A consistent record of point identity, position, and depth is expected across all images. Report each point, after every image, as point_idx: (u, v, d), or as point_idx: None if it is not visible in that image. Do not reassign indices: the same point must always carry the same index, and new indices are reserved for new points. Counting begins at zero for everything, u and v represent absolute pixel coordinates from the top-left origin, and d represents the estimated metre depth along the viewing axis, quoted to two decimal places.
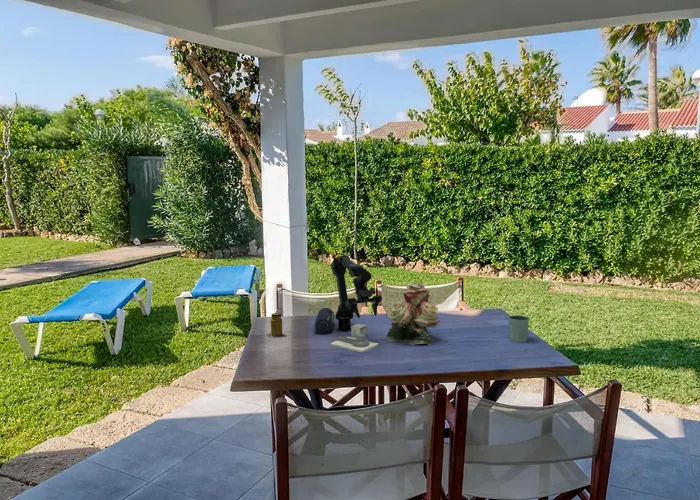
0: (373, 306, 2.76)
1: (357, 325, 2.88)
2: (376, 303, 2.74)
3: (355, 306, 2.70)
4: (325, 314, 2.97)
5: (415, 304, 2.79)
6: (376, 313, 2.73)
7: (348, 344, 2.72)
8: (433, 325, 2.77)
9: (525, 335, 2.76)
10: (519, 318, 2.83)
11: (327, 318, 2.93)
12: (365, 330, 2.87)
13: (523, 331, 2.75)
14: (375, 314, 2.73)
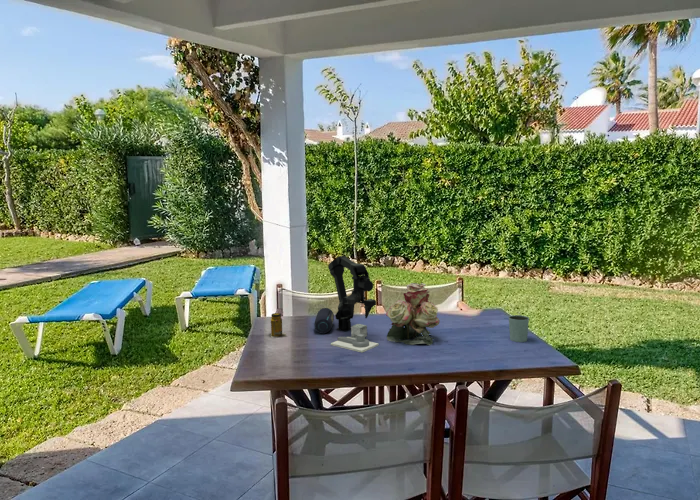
0: None
1: (357, 325, 2.88)
2: (365, 308, 2.81)
3: (348, 306, 2.88)
4: (324, 314, 2.97)
5: (415, 303, 2.79)
6: (366, 316, 2.83)
7: (348, 344, 2.72)
8: (433, 325, 2.77)
9: (525, 335, 2.76)
10: (519, 318, 2.83)
11: (326, 318, 2.93)
12: (365, 330, 2.87)
13: (523, 331, 2.75)
14: None
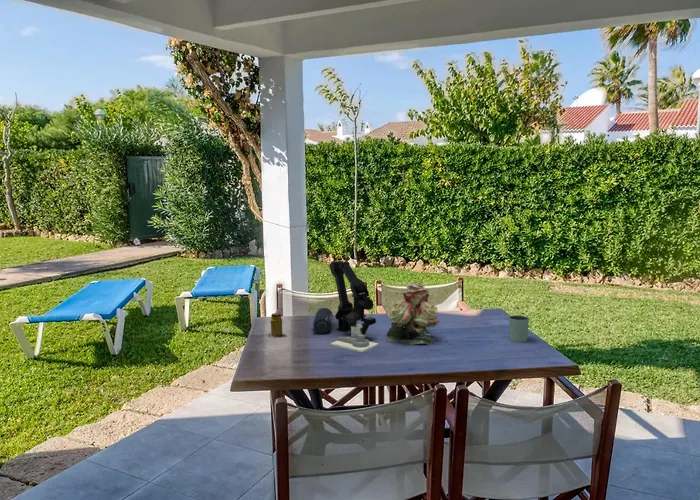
0: None
1: (357, 325, 2.88)
2: (363, 326, 2.83)
3: (350, 323, 2.89)
4: (323, 314, 2.97)
5: (414, 303, 2.80)
6: (363, 334, 2.85)
7: (348, 344, 2.72)
8: (433, 325, 2.77)
9: (525, 335, 2.76)
10: (519, 318, 2.83)
11: (325, 318, 2.93)
12: None
13: (523, 331, 2.75)
14: (363, 334, 2.86)
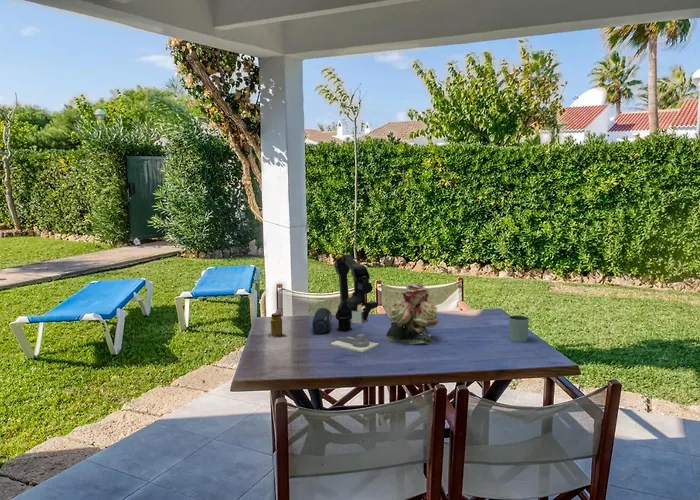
0: None
1: (358, 310, 2.79)
2: (364, 310, 2.74)
3: (350, 308, 2.80)
4: (322, 314, 2.97)
5: (414, 303, 2.80)
6: (364, 318, 2.76)
7: (348, 344, 2.72)
8: (432, 324, 2.78)
9: (525, 335, 2.76)
10: (519, 318, 2.83)
11: (324, 318, 2.93)
12: None
13: (523, 331, 2.75)
14: (364, 319, 2.77)
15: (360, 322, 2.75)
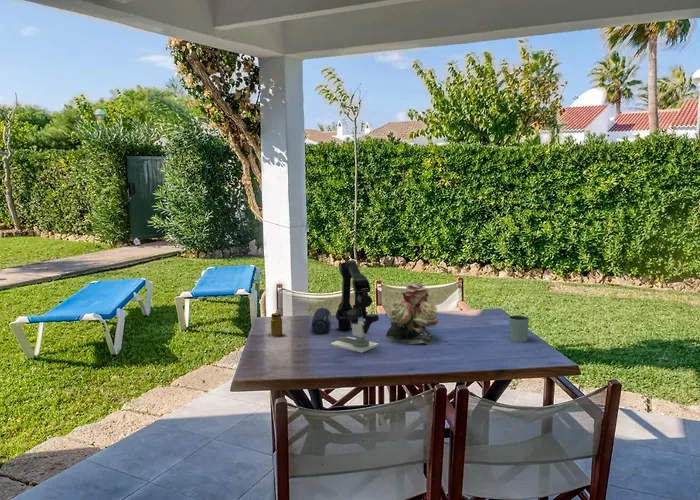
0: None
1: (358, 322, 2.71)
2: (365, 323, 2.65)
3: (351, 321, 2.71)
4: (322, 314, 2.97)
5: (414, 303, 2.80)
6: (365, 332, 2.68)
7: (348, 344, 2.72)
8: (432, 324, 2.78)
9: (525, 335, 2.76)
10: (519, 318, 2.83)
11: (324, 318, 2.93)
12: None
13: (523, 331, 2.75)
14: None
15: (360, 335, 2.67)
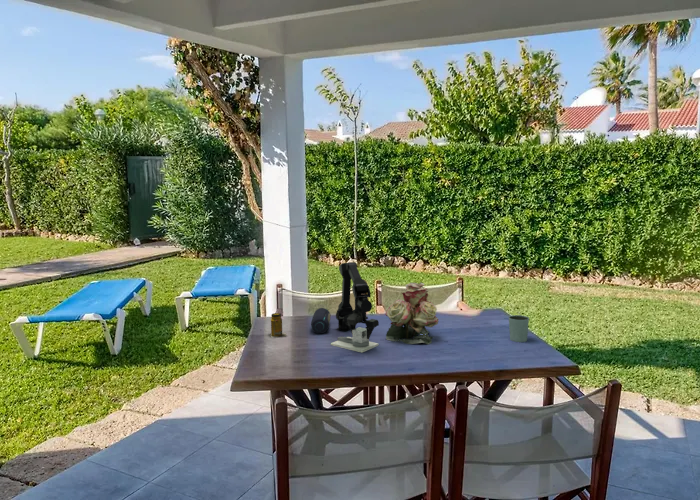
0: None
1: (358, 329, 2.71)
2: (367, 329, 2.65)
3: (349, 325, 2.72)
4: (321, 314, 2.97)
5: (414, 303, 2.80)
6: (367, 337, 2.67)
7: (348, 344, 2.72)
8: (432, 324, 2.78)
9: (525, 335, 2.76)
10: (519, 318, 2.83)
11: (323, 318, 2.93)
12: None
13: (523, 331, 2.75)
14: (367, 338, 2.68)
15: (360, 342, 2.67)
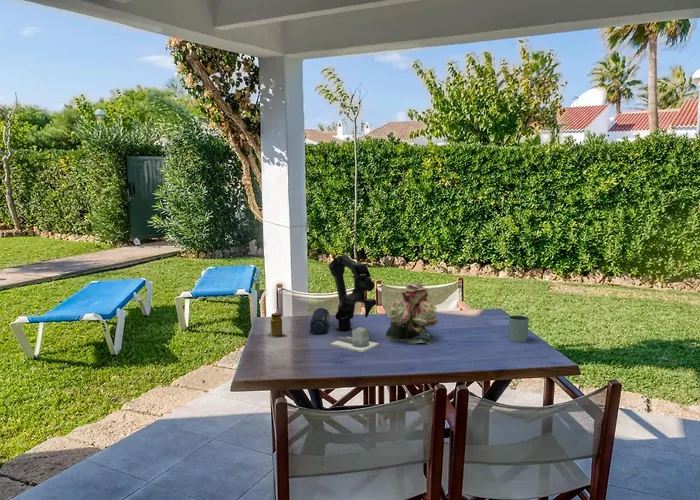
0: None
1: (358, 329, 2.71)
2: (365, 307, 2.80)
3: (348, 304, 2.88)
4: (320, 314, 2.97)
5: (413, 303, 2.81)
6: (366, 316, 2.83)
7: (348, 344, 2.72)
8: (432, 324, 2.79)
9: (525, 335, 2.76)
10: (519, 318, 2.83)
11: (322, 318, 2.93)
12: (367, 334, 2.70)
13: (523, 331, 2.75)
14: None
15: (360, 342, 2.67)
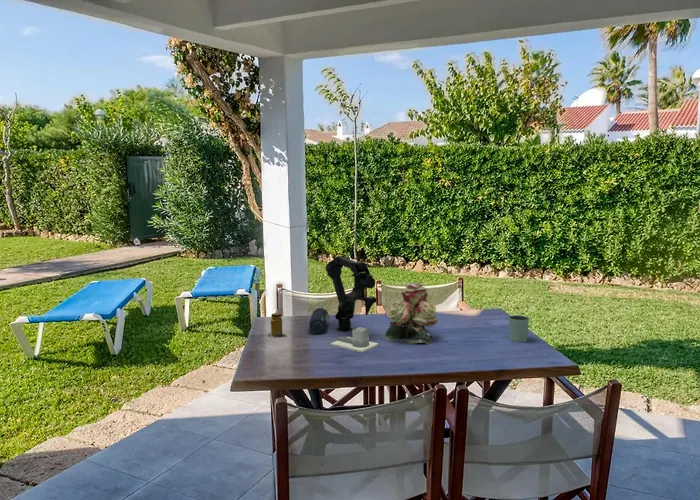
0: None
1: (358, 329, 2.71)
2: (365, 305, 2.83)
3: (348, 302, 2.90)
4: (319, 314, 2.97)
5: (413, 303, 2.81)
6: (366, 313, 2.85)
7: (348, 344, 2.72)
8: (431, 324, 2.79)
9: (525, 335, 2.76)
10: (519, 318, 2.83)
11: (321, 318, 2.93)
12: (367, 334, 2.70)
13: (523, 331, 2.75)
14: None
15: (360, 342, 2.67)
